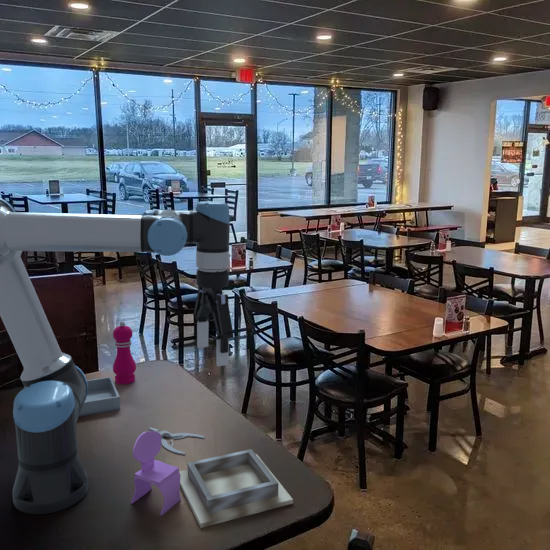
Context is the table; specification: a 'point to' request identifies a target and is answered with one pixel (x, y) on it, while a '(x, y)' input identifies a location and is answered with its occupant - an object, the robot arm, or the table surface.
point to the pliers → (169, 435)
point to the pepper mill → (123, 355)
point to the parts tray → (100, 397)
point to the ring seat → (231, 487)
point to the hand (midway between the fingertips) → (212, 355)
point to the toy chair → (155, 471)
